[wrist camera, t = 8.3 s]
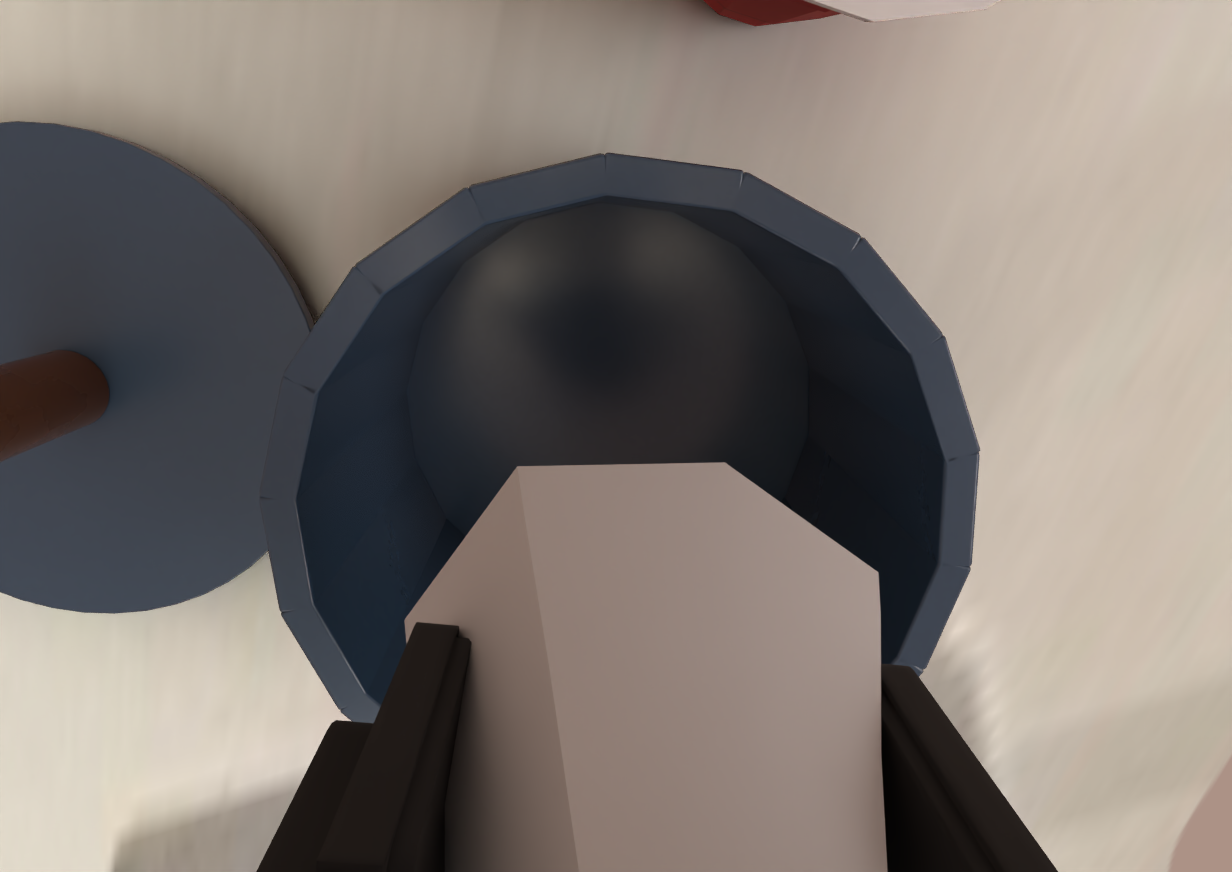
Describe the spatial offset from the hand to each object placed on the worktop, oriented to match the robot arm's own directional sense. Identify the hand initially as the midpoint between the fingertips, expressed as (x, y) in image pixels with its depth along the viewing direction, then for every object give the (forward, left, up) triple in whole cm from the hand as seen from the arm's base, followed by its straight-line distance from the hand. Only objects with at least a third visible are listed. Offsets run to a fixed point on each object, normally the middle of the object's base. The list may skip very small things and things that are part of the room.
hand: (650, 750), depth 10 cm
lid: (+1, -18, -18) cm, 26 cm away
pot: (0, 0, -19) cm, 19 cm away
